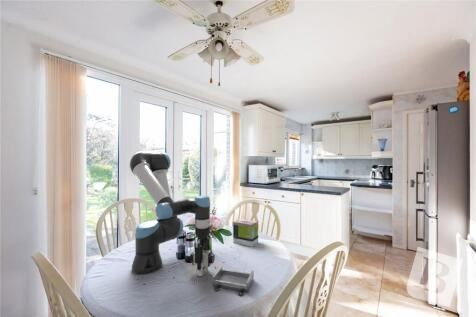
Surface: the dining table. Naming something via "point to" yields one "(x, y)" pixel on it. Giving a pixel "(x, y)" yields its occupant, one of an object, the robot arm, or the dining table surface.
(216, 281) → the wheeled cart
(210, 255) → the pneumatic valve
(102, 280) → the dining table surface
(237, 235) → the tea box
